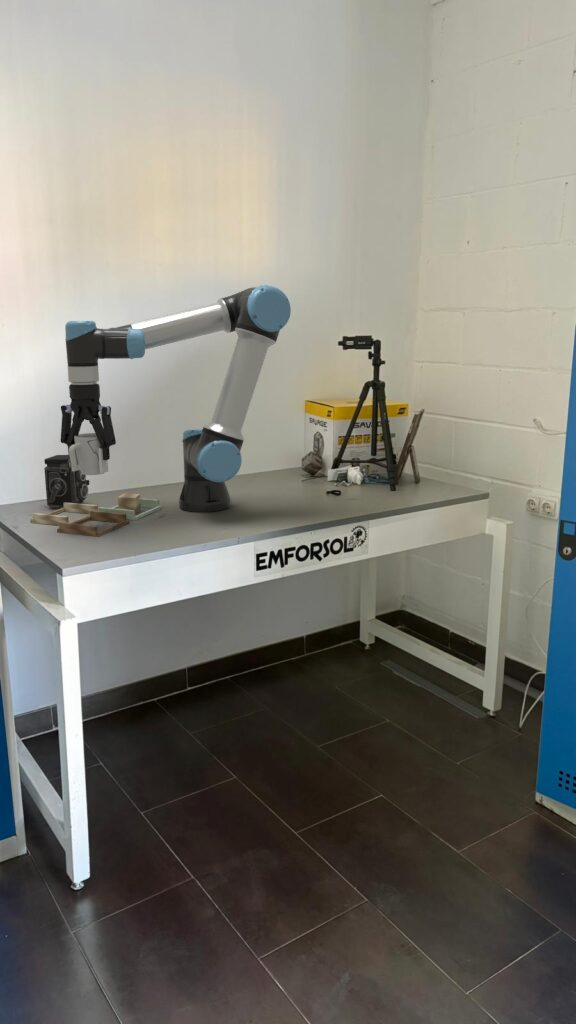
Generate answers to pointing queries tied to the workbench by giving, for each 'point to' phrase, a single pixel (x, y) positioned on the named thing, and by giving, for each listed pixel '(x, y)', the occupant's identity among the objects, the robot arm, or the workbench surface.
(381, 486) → the workbench surface
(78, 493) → the camera
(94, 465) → the mug
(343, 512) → the workbench surface
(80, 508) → the birch rim
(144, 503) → the sage rim
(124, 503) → the birch cube
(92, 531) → the walnut rim
